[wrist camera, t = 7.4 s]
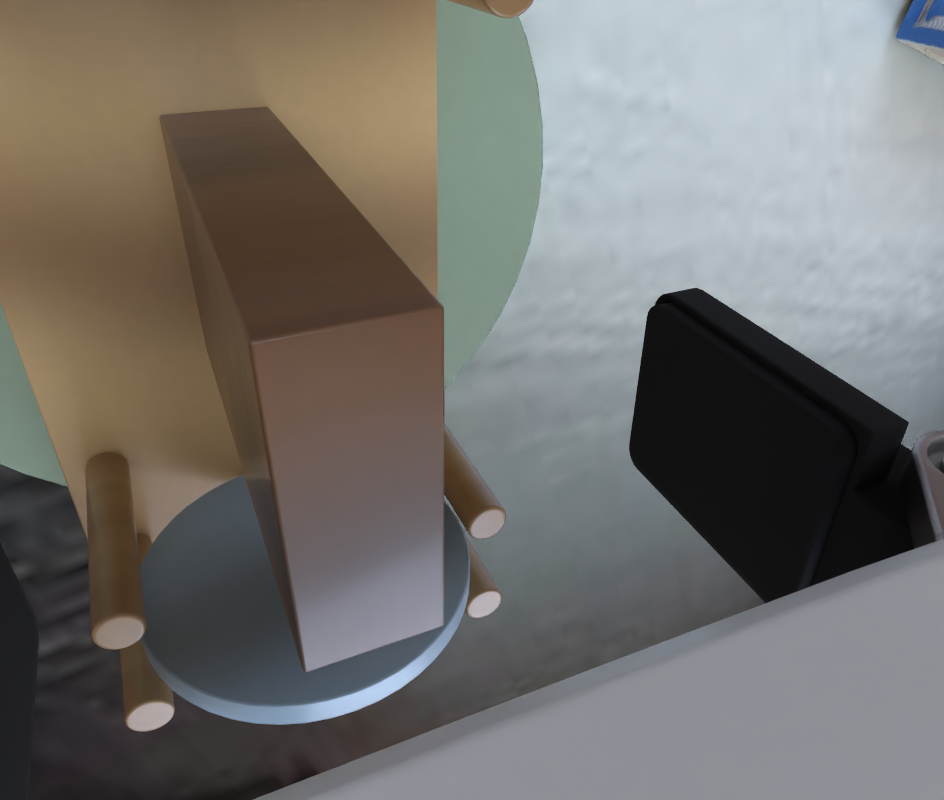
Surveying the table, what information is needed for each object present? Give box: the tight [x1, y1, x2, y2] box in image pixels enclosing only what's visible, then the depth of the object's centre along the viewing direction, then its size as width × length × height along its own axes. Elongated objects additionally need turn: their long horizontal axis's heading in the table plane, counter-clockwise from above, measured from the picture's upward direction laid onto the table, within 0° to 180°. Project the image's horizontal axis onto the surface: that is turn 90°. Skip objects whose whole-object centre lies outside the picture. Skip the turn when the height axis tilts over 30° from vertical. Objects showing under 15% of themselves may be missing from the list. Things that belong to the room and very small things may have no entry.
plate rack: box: [0, 0, 533, 732], centre depth 13 cm, size 18×9×10 cm, turn 178°
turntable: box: [0, 0, 543, 487], centre depth 17 cm, size 16×16×1 cm
